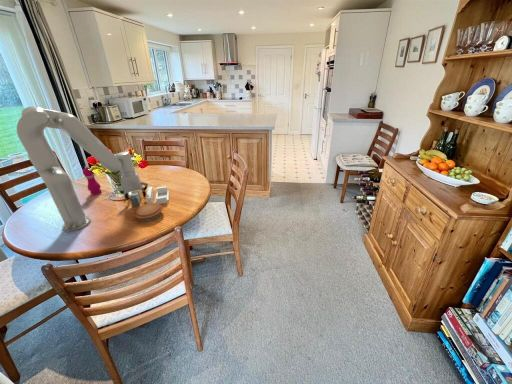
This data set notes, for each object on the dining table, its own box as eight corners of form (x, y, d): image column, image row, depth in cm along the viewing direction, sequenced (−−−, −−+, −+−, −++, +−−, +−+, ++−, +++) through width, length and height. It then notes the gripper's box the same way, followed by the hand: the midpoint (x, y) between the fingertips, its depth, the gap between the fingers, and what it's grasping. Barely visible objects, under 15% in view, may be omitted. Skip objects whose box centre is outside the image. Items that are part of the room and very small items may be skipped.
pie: (169, 213, 136) (167, 205, 134) (145, 226, 125) (143, 218, 123) (153, 206, 144) (151, 198, 142) (129, 218, 132) (126, 210, 130)
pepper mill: (104, 190, 164) (95, 163, 154) (97, 195, 157) (87, 167, 148) (95, 190, 164) (85, 163, 155) (87, 195, 158) (76, 167, 149)
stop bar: (139, 205, 145) (137, 196, 142) (131, 206, 144) (129, 198, 141) (141, 197, 154) (139, 189, 151) (134, 198, 153) (131, 190, 150)
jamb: (168, 202, 147) (167, 195, 144) (148, 206, 144) (146, 198, 141) (168, 191, 161) (167, 184, 159) (150, 193, 158) (148, 187, 156)
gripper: (111, 177, 134) (120, 203, 143) (143, 173, 139) (150, 198, 147) (113, 172, 141) (122, 197, 149) (144, 168, 145) (151, 192, 153)
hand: (136, 197), depth 148 cm, fingers open, 9 cm apart
